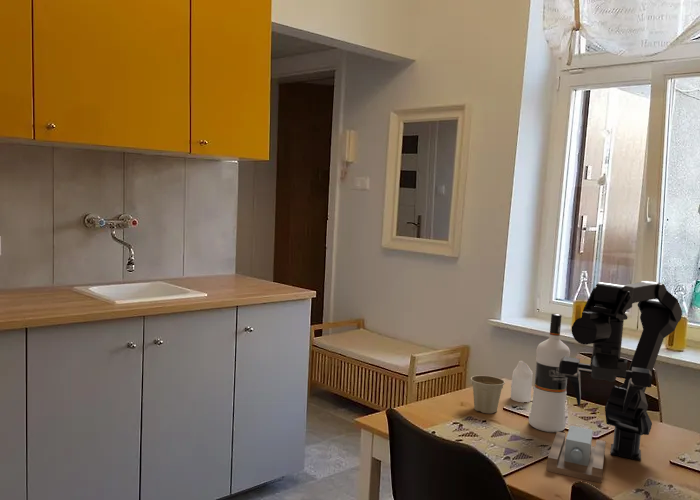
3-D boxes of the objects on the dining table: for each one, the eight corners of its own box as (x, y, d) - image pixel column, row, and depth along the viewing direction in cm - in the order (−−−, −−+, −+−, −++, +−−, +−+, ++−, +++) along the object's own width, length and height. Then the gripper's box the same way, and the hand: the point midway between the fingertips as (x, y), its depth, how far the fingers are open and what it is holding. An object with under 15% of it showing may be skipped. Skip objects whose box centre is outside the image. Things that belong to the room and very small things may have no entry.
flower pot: (461, 406, 174) (463, 376, 173) (488, 403, 178) (490, 374, 177) (481, 417, 165) (484, 385, 165) (509, 414, 169) (512, 383, 169)
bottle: (568, 446, 145) (570, 425, 145) (590, 450, 143) (592, 429, 143) (562, 465, 133) (564, 443, 133) (587, 471, 131) (589, 448, 131)
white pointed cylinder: (537, 360, 182) (529, 364, 178) (533, 400, 183) (525, 404, 179) (518, 356, 186) (510, 359, 182) (514, 395, 187) (506, 399, 183)
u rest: (555, 443, 149) (556, 431, 149) (604, 453, 145) (605, 441, 145) (546, 470, 133) (547, 457, 133) (601, 483, 128) (602, 469, 128)
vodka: (543, 418, 167) (553, 310, 165) (572, 430, 160) (583, 316, 157) (520, 423, 162) (530, 311, 160) (549, 435, 154) (560, 318, 152)
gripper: (559, 340, 132) (553, 411, 133) (655, 353, 124) (648, 429, 125) (564, 331, 142) (558, 397, 143) (654, 344, 134) (647, 413, 135)
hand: (600, 409), depth 136 cm, fingers open, 9 cm apart
